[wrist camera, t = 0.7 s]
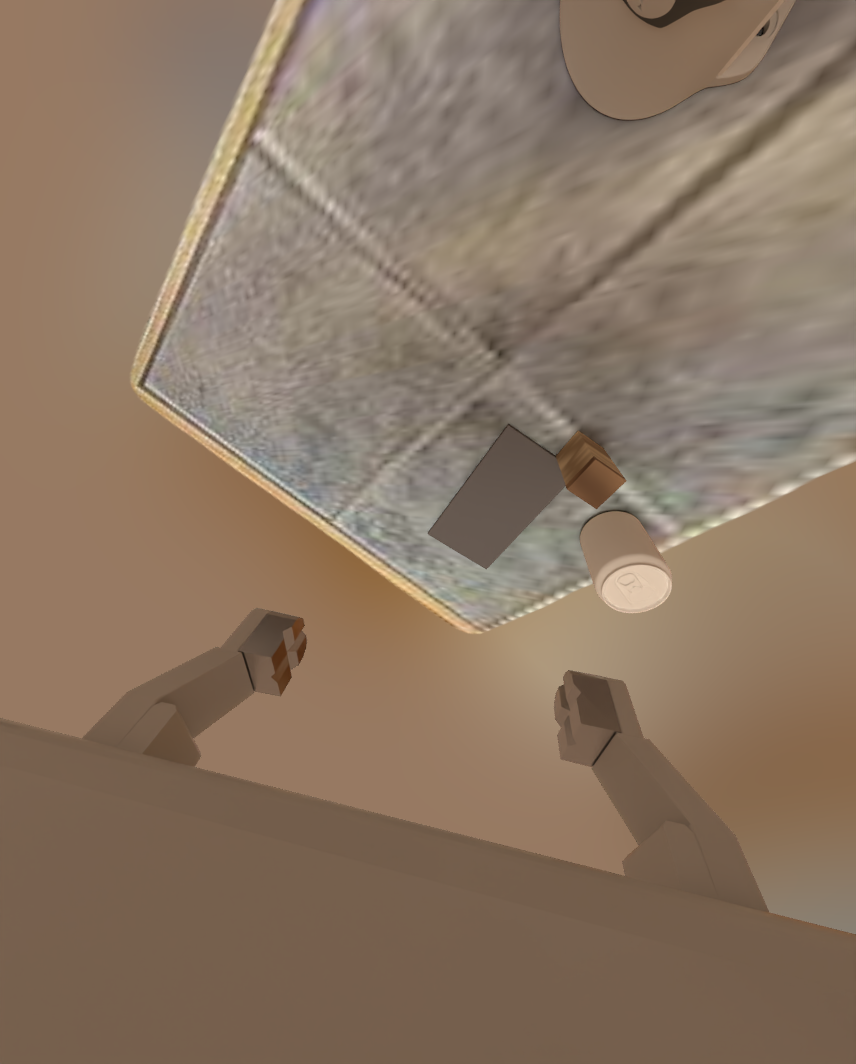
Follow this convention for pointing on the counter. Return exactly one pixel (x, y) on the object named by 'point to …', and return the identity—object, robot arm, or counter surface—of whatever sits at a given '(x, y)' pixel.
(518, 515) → the rubber mat
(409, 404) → the counter surface
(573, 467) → the maple block
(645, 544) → the beverage can
